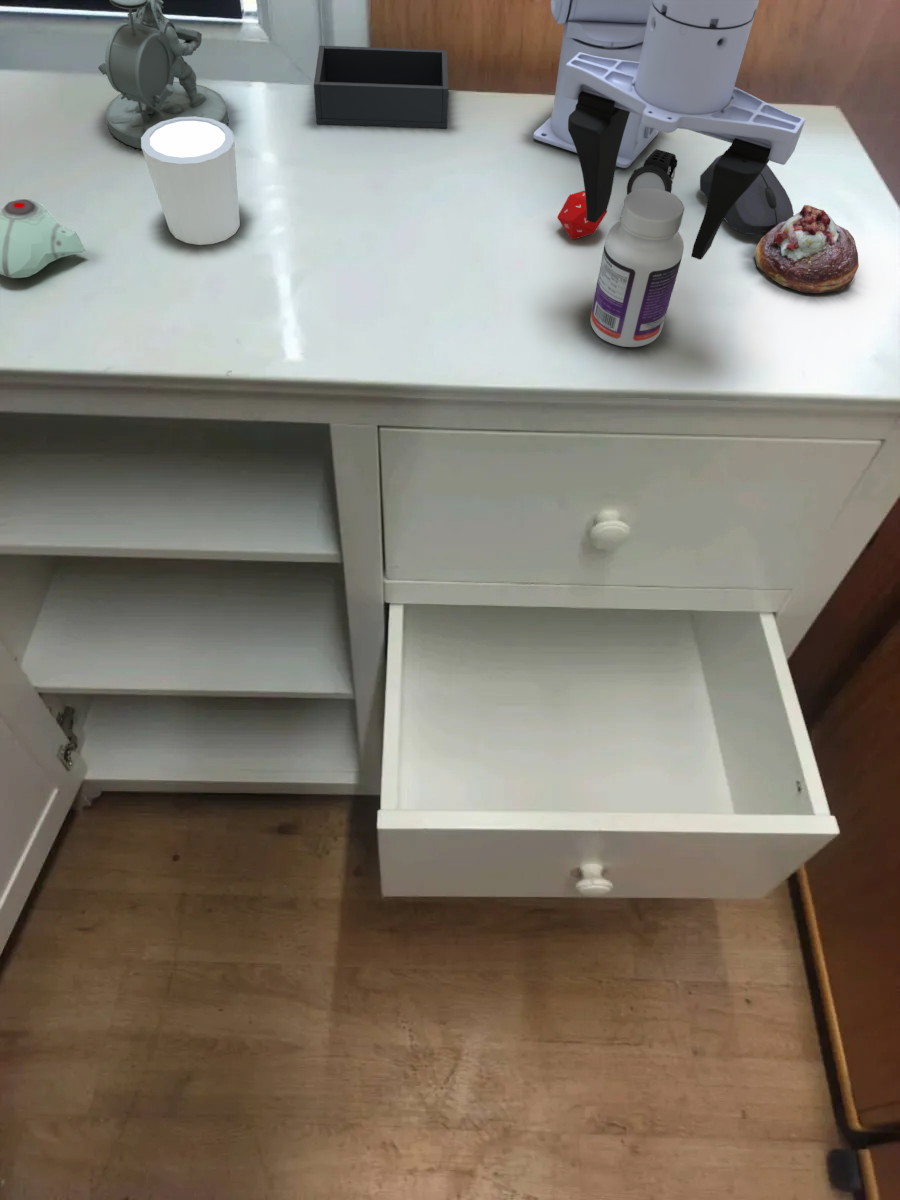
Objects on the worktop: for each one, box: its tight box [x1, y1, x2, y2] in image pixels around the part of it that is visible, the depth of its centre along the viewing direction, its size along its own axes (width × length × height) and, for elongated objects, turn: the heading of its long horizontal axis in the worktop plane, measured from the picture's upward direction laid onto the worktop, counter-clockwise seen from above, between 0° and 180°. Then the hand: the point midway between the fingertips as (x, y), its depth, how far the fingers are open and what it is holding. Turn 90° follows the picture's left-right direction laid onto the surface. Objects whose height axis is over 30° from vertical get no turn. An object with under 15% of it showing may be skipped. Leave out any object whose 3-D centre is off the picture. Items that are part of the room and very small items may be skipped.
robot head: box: [0, 198, 87, 279], centre depth 66 cm, size 8×4×7 cm
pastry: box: [754, 204, 859, 294], centre depth 69 cm, size 8×8×5 cm
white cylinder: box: [141, 116, 241, 246], centre depth 69 cm, size 7×7×7 cm
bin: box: [313, 45, 449, 129], centre depth 82 cm, size 12×8×4 cm, turn 91°
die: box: [556, 190, 608, 240], centre depth 72 cm, size 4×4×4 cm
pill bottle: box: [590, 188, 685, 348], centre depth 62 cm, size 5×5×10 cm
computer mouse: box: [699, 154, 795, 235], centre depth 74 cm, size 6×9×4 cm, turn 22°
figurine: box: [97, 0, 229, 150], centre depth 76 cm, size 11×11×12 cm
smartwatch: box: [626, 148, 678, 196], centre depth 73 cm, size 4×5×5 cm
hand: (647, 232), depth 60 cm, fingers open, 7 cm apart
